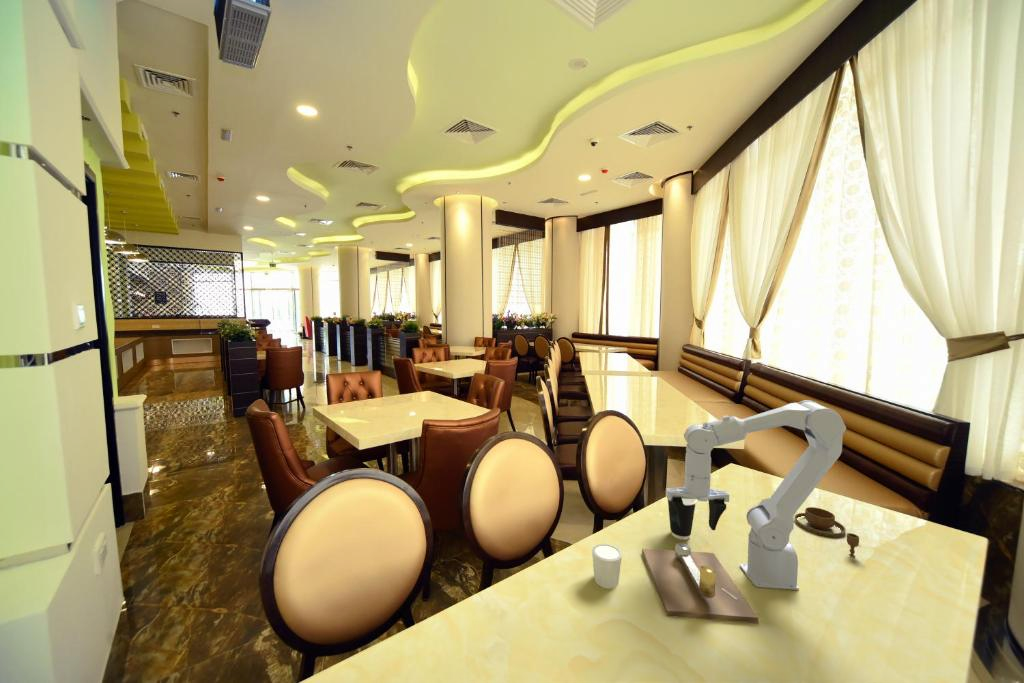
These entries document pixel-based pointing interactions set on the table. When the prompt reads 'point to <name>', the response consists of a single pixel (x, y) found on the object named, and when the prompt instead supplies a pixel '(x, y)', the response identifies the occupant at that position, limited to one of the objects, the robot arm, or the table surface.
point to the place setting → (826, 525)
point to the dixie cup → (687, 519)
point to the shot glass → (606, 565)
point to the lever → (697, 571)
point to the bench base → (684, 595)
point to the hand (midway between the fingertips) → (696, 527)
